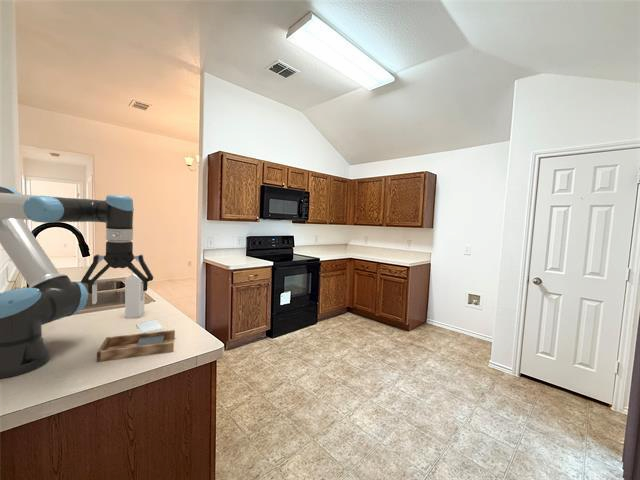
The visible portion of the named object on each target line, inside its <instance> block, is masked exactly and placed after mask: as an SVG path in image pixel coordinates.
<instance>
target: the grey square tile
mask: <svg viewBox="0 0 640 480" xmlns="http://www.w3.org/2000/svg"><path fill="white" fill-rule="evenodd" d="M159 343H164V335H160V336H151V337H142V338H140V339H139V341H138V344H137V346H143V345H151V344H159Z"/></svg>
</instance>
